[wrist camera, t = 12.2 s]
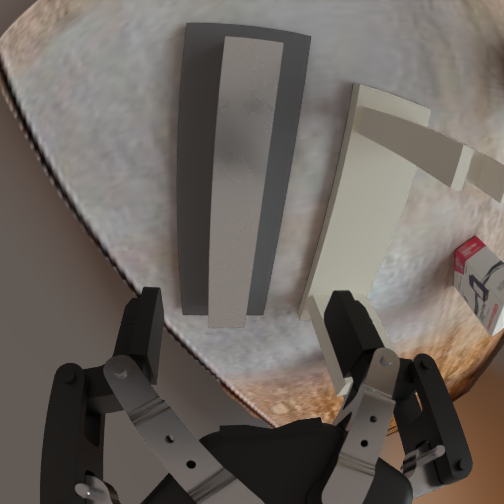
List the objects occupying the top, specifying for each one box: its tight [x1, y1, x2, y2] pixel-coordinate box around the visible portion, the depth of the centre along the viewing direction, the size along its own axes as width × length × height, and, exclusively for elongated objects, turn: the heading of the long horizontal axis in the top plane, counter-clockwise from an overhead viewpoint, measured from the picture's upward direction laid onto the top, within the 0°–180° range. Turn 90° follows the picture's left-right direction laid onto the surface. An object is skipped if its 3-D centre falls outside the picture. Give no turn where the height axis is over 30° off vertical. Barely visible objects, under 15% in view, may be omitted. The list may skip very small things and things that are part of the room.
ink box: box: [454, 236, 504, 337], centre depth 28 cm, size 8×5×12 cm, turn 29°
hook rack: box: [297, 83, 504, 396], centre depth 22 cm, size 26×8×12 cm, turn 174°
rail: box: [208, 36, 284, 328], centre depth 22 cm, size 25×4×3 cm, turn 174°
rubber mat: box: [177, 23, 311, 315], centre depth 23 cm, size 28×9×1 cm, turn 174°
